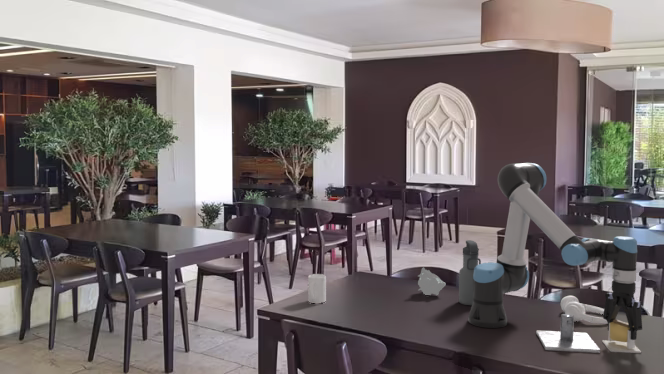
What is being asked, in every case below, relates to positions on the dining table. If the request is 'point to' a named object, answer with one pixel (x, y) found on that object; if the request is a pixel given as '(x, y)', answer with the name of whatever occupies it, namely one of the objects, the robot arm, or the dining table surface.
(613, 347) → the mat
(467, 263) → the water bottle
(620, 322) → the cap
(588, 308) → the headphones
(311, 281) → the pale gray rounded block
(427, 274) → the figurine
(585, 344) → the post fixture
